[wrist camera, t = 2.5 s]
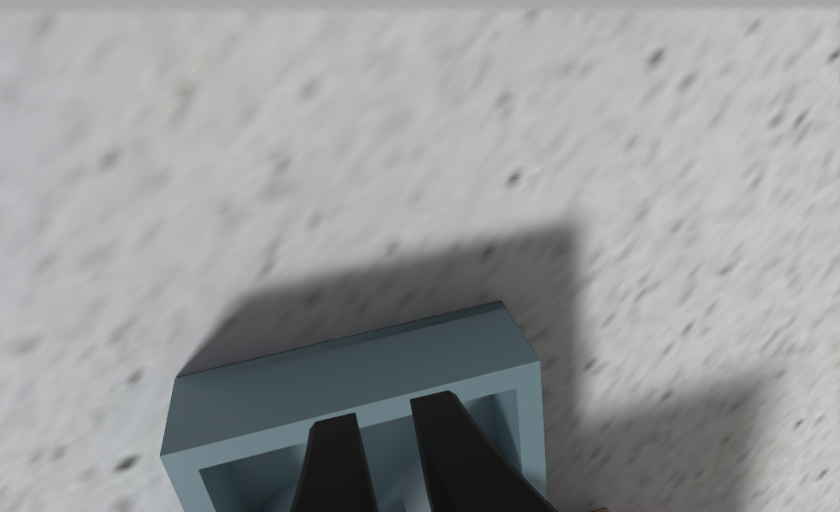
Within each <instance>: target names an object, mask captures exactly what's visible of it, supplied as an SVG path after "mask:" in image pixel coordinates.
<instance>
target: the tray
mask: <svg viewBox="0 0 840 512" xmlns="http://www.w3.org/2000/svg"><path fill="white" fill-rule="evenodd" d="M446 390H449V391H451V392H453V393H454V394H456V395H457V397H458V398H459V400H460V401H461V403H462V404H463V406H464V407H465V408H466V410H467V411H468V413H469V414H470V415H471V417H472V418H473V419H474V420H475V422H476V423H477V424H478V426H479V427H480V428H481V429H482V431H483V432H484V433H485V434H486V435H487V437H488V438H489V439H490V440H491V441H492V442H493V444H494V445H495V446H496V447H497V448H498V450H499V451H500V452H501V453H502V454H503V455H504V456H505V457H506V458H507V460H508V461H509V462H510V463H511V464H512V465H513V466H514V467H515V468H516V469H517V470H518V471H519V472H520V473H521V475H522V476H523V477H524V478H525V479H526V480H527V481H528V482H529V483H530V484H531V485H532V486H533V487H534V488H535V489H536V490H537V491H538V492H539V493H540V494H541V495H542V496H543V497H544V498H545V499H546V500H547V480H546V461H545V441H544V422H543V402H542V383H541V363H540V359H539V358H538V356H537V355H536V353H535V351H534V350H533V348H532V347H531V345H530V344H529V342H528V341H527V339H526V338H525V336H524V335H523V333H522V331H521V330H520V328H519V327H518V325H517V324H516V322H515V321H514V319H513V318H512V316H511V315H510V313H509V311H508V310H507V308H506V307H505V305H504V304H503V302H502V301H498V302H494V303H490V304H485V305H481V306H477V307H473V308H469V309H464V310H460V311H456V312H452V313H447V314H443V315H439V316H435V317H431V318H426V319H422V320H418V321H414V322H410V323H405V324H401V325H397V326H393V327H388V328H384V329H380V330H376V331H372V332H367V333H363V334H359V335H355V336H350V337H346V338H342V339H338V340H334V341H329V342H325V343H321V344H317V345H313V346H308V347H304V348H300V349H296V350H291V351H287V352H283V353H279V354H275V355H270V356H266V357H262V358H258V359H254V360H249V361H245V362H241V363H237V364H232V365H228V366H224V367H220V368H216V369H211V370H207V371H203V372H199V373H194V374H190V375H186V376H182V377H178V378H175V381H174V387H173V392H172V397H171V402H170V407H169V412H168V417H167V422H166V427H165V432H164V437H163V442H162V448H161V453H160V458H161V460H162V463H163V465H164V467H165V469H166V471H167V474H168V476H169V478H170V480H171V482H172V485H173V487H174V489H175V491H176V494H177V496H178V498H179V500H180V502H181V505H182V507H183V509H184V511H185V512H290V509H291V506H292V503H293V500H294V496H295V492H296V489H297V485H298V482H299V478H300V474H301V470H302V466H303V462H304V457H305V453H306V448H307V442H308V436H309V429H310V428H311V427H312V425H313V424H314V423H315V422H316V421H320V420H324V419H329V418H333V417H337V416H341V415H345V414H350V413H354V412H355V413H356V417H357V421H358V425H359V430H360V434H361V438H362V442H363V446H364V451H365V455H366V459H367V463H368V467H369V472H370V476H371V480H372V484H373V488H374V493H375V497H376V501H377V505H378V510H379V512H431V509H430V505H429V501H428V497H427V493H426V487H425V482H424V476H423V471H422V465H421V460H420V454H419V449H418V443H417V438H416V432H415V427H414V421H413V416H412V410H411V405H410V400H409V399H413V398H417V397H421V396H425V395H430V394H434V393H438V392H442V391H446ZM547 501H548V500H547Z"/></svg>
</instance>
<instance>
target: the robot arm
mask: <svg viewBox="0 0 840 512" xmlns="http://www.w3.org/2000/svg"><path fill="white" fill-rule="evenodd" d="M409 400H410V405H411V410H412V416H413V421H414V427H415V432H416V438H417V443H418V449H419V454H420V460H421V465H422V471H423V476H424V482H425V487H426V493H427V497H428V501H429V505H430V509H431V512H558V511H557V510H556V509H555V508H554V507H553V506H552V505H551V504H550V503H549V502H548V501H547V500H546V499H545V498H544V497H543V496H542V495H541V494H540V493H539V492H538V491H537V490H536V489H535V488H534V487H533V486H532V485H531V484H530V483H529V482H528V481H527V480H526V479H525V478H524V477H523V476H522V475H521V473H520V472H519V471H518V470H517V469H516V468H515V467H514V466H513V465H512V464H511V463H510V462H509V461H508V460H507V458H506V457H505V456H504V455H503V454H502V453H501V452H500V451H499V450H498V448H497V447H496V446H495V445H494V444H493V442H492V441H491V440H490V439H489V438H488V437H487V435H486V434H485V433H484V432H483V431H482V429H481V428H480V427H479V426H478V424H477V423H476V422H475V420H474V419H473V418H472V417H471V415H470V414H469V413H468V411H467V410H466V408H465V407H464V406H463V404H462V403H461V401H460V400H459V398H458V397H457V395H456V394H454V393H453V392H451V391H449V390H446V391H442V392H438V393H434V394H430V395H425V396H421V397H417V398H413V399H409ZM290 512H379V510H378V505H377V501H376V497H375V493H374V488H373V484H372V480H371V476H370V472H369V467H368V463H367V459H366V455H365V451H364V446H363V442H362V438H361V434H360V430H359V425H358V421H357V417H356V413H355V412H354V413H350V414H345V415H341V416H337V417H333V418H329V419H324V420H320V421H316V422H315V423H314V424H313V425H312V427H311V428H310V429H309V436H308V442H307V448H306V453H305V457H304V462H303V466H302V470H301V474H300V478H299V482H298V485H297V489H296V492H295V496H294V500H293V503H292V506H291V509H290Z"/></svg>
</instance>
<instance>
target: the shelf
mask: <svg viewBox="0 0 840 512" xmlns="http://www.w3.org/2000/svg"><path fill="white" fill-rule="evenodd" d="M594 512H609V511H608V509H607V508H605V509H601V510H598V511H594Z"/></svg>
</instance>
